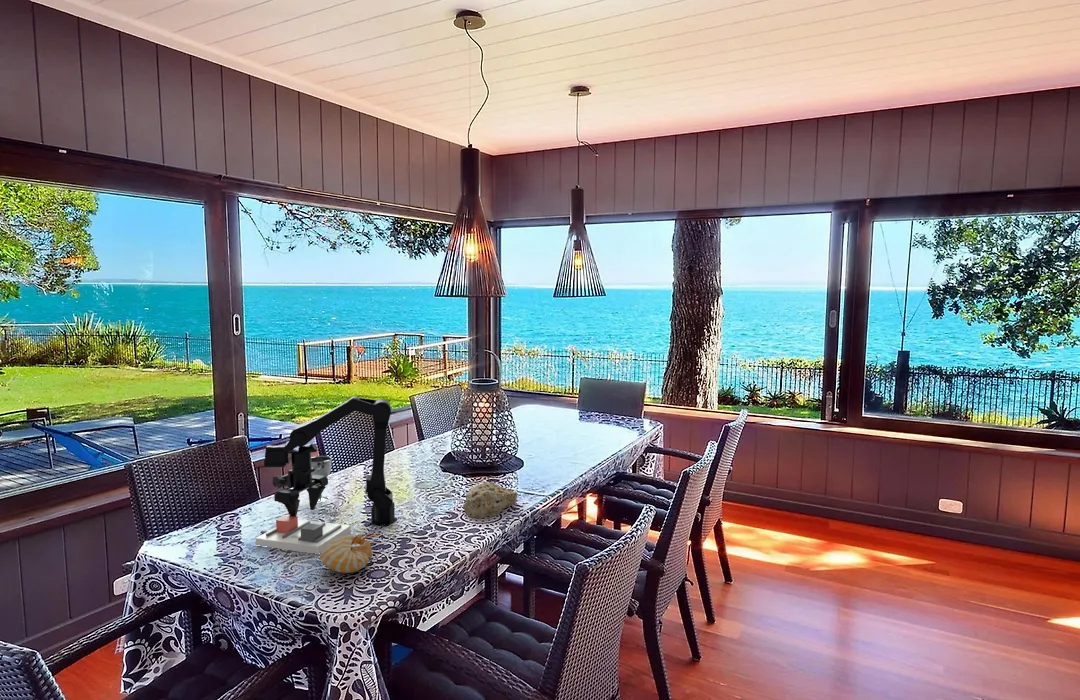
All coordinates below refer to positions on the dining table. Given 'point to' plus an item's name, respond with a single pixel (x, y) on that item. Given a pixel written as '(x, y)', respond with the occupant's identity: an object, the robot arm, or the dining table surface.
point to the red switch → (286, 524)
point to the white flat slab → (294, 537)
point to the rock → (488, 500)
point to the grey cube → (311, 532)
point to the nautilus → (348, 553)
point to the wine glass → (321, 468)
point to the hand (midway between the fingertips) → (303, 514)
